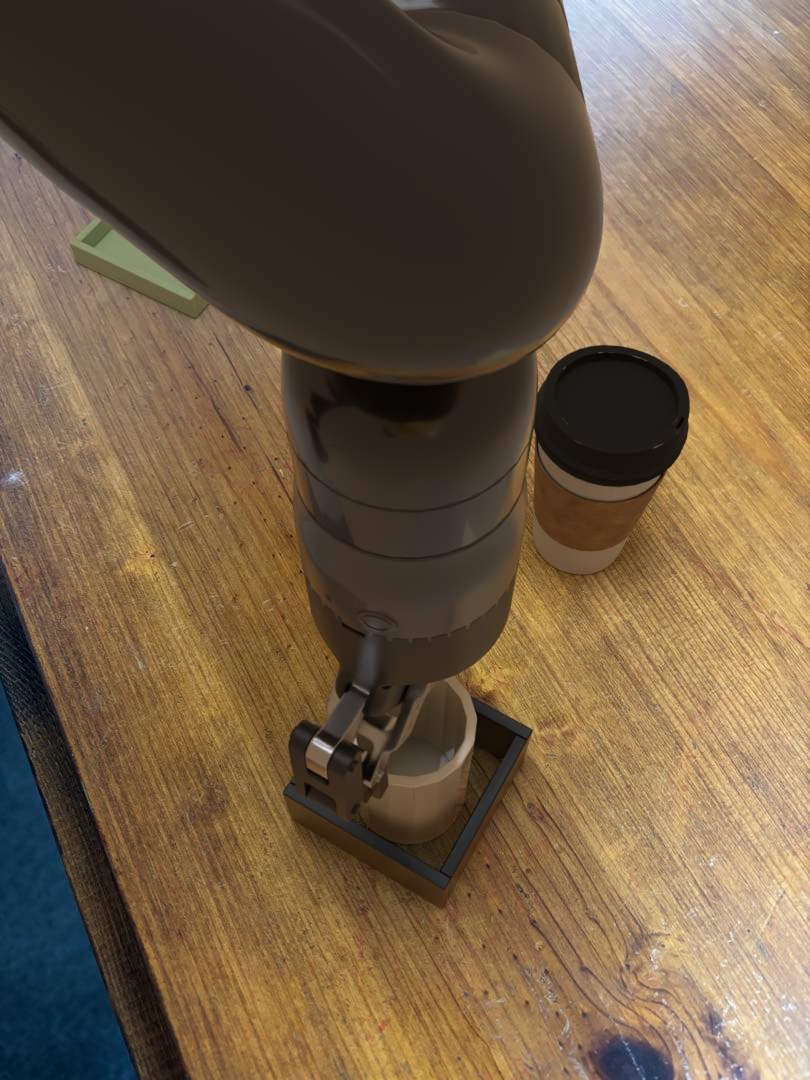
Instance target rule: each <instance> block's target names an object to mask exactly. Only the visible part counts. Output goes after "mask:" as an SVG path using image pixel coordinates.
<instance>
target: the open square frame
mask: <svg viewBox="0 0 810 1080" xmlns="http://www.w3.org/2000/svg"><path fill="white" fill-rule="evenodd" d="M470 697H471V700H472V703H473V706H474V710H475V713H476V716H477V724H476V733H475V742H474V745H476V746H478V747H479V748H481V749H483V750H485V751H487V752H488V753H491V754H493V755H494V756H496V757H497V758H500V759H501V760H500V762H499V764H498V765H497V767H496V769H495V771H494V772H493V774H492V776H491V778H490V780H489V781H488V783H487V785H486V787H485V789H484V791H483V793H482V794H481V796H480V797H479V799H478V801H477V803H476V805H475V807H474V808H473V811H472V812H471V814H470V816H469V817H468V819H467V820H466V823H465V825H464V827H463V828H462V829H461V832H460V834H459V835H458V837H457V839H456V840H455V842H454V844H453V846H452V848H451V850H450V851H449V854H448V855H447V857H446V859H445V861H444V862H443V864H442V866H441V868H440V869H439V870H438V869H436V868H435V867H433V866H431V865H430V864H428V863H426V862H424V861H423V860H422V859H420V858H418V857H416V856H415V855H413V854H411V853H409V852H408V851H407V850H404V849H403V848H401V847H400V846H398V845H396V844H394V842H392V841H389V840H387V839H385V838H383V837H381V836H379V835H378V834H376V833H375V832H374V831H373V830H372V829H370V828H369V827H368V828H367V827H366V826H364V825H363V824H361V823H359V822H357V821H356V820H354V819H353V818H352V819H351V820H350V821H349V822H346V821H344V820H343V819H341V818H339V817H338V816H337V814H335V813H333V812H331V811H330V810H328V809H326V808H325V807H323V806H321V805H320V804H318V803H316V802H315V801H313V800H311V799H310V798H306V797H304V796H302V795H300V794H299V793H297V792H296V788H295V782H294V777H293V776H292V777H291V779H290V780H289V782H288V783H287V785H286V787H285V788H284V790H283V791H282V795H283V799H284V801H285V804H286V807H287V810H288V813H289V816H290V819H291V820H293V821H295V822H296V823H298V824H300V825H301V826H303V827H304V828H306V829H308V830H309V831H311V832H313V833H314V834H316V835H318V836H319V837H321V838H322V839H324V840H326V841H328V842H329V843H331V844H333V846H336V847H338V848H339V849H341V850H342V851H344V852H346V853H347V854H349V855H351V856H352V857H354V858H356V859H357V860H359V861H361V862H362V863H364V864H365V865H367V866H368V867H370V868H372V869H374V870H375V871H377V872H379V873H380V874H382V875H384V876H385V877H387V878H388V879H391V880H392V881H393V882H395V883H397V884H399V885H400V886H402V887H404V888H405V889H407V890H409V891H410V892H412V893H414V894H415V895H417V896H419V898H422V899H424V900H425V901H426V902H428V903H430V904H431V905H434V906H435V907H437V908H438V909H440V910H442V909H443V908H444V907H445V905H446V903H447V901H448V899H449V898H450V895H451V894H452V892H453V890H454V889H455V886H456V884H457V883H458V881H459V879H460V878H461V876H462V874H463V872H464V870H465V868H466V866H467V864H468V862H469V861H470V859H471V857H472V855H473V853H474V852H475V850H476V848H477V846H478V844H479V843H480V841H481V839H482V837H483V835H484V833H485V832H486V830H487V828H488V827H489V825H490V823H491V821H492V819H493V817H494V815H495V813H496V811H497V810H498V808H499V806H500V804H501V803H502V801H503V799H504V797H505V795H506V793H507V792H508V789H509V788H510V787H511V784H512V782H513V781H514V779H515V777H516V775H517V773H518V771H519V769H520V768H521V766H522V764H523V762H524V761H525V758H526V755H527V752H528V748H529V746H530V745H529V744H530V741H531V738H532V734H533V731H534V729H533V728H531V727H529V726H528V725H526V724H524V723H522V722H520V721H518V720H516V719H514V718H513V717H511V716H509V715H507V714H505V713H504V712H502V711H499V710H498V709H496V708H494V707H492V706H490V705H489V704H487V703H485V702H483V701H481V700H479V699H478V698H476V697H474V696H472V695H470Z"/></svg>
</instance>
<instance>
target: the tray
mask: <svg viewBox="0 0 810 1080" xmlns="http://www.w3.org/2000/svg"><path fill="white" fill-rule="evenodd" d="M69 245H70V248H71V251H72V254H73V257H74V259H75V262H76V263H77V264H78V265H81V266H84V267H86V268H88V269H90V270H92V271H94V272H97V273H98V274H100V275H102V276H105V277H106V278H109V279H110V280H113V281H116V282H117V283H118V284H122V285H123V286H126V287H128V288H130V289H132V290H134V291H136V292H138V293H139V294H140V293H141V294H142V295H144V296H146V297H149V298H151V299H152V300H155V301H157V302H158V303H161V304H164V305H166V306H168V307H169V308H171V309H174V310H176V311H178V312H180V313H182V314H184V315H186V316H189V317H191V318H193V319H196V318H197V317H198V316H199V315H200V314H201V313H202V312H203V310H205V308H206V307H207V306H208V305H210V304H209V303H207V302H206V301H205V300H203V299H202V298H201V297H199V296H198V295H197V294H195V293H194V292H193V291H192V290H190V289H189V288H188V287H186V286H185V285H184V284H182V283H181V282H180V281H179V280H177V279H176V278H175V277H173V276H172V275H171V274H170V273H168V272H167V271H166V270H164V269H163V268H162V267H161V266H159V265H158V264H157V263H155V262H154V261H153V260H152V259H150V258H149V257H148V256H146V255H145V254H144V253H143V252H141V251H140V250H139V249H137V248H136V247H135V246H134V245H132V244H131V243H130V242H128V241H127V240H126V239H125V238H123V237H122V236H121V235H120V234H118V233H117V232H116V231H114V230H113V229H112V228H111V227H109V226H108V225H107V224H105V223H104V222H103V221H101V220H100V219H99V218H97V217H96V216H95V218H93V220H91V221H90V222H89V223H88V224H87V226H85V227H84V228H83V229H82V230H81V231H80V232H79V233H78V235H76V236H75V237H74V238H73V239H72V240H71V241H70V242H69Z"/></svg>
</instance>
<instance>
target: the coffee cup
mask: <svg viewBox="0 0 810 1080" xmlns="http://www.w3.org/2000/svg"><path fill="white" fill-rule="evenodd" d="M690 413H691V398H690V393H689V388H688V386H687V384H686V382H685V380H684V379H683V378H682V376H681V375H680V374H679V373H678V372H677V371H676V370H675V369H674V368H673V367H672V366H671V365H669V364H668V363H666V362H665V361H663V360H662V359H660V358H658V357H656V356H654V355H651V354H650V353H648V352H646V351H642V350H639V349H636V348H633V347H627V346H622V345H613V344H599V345H597V344H596V345H589V346H585V347H582V348H578V349H576V350H573V351H571V352H569V353H567V354H565V356H563V357H561V358H560V359H558V361H556V363H555V364H554V365H553V366H552V367H551V368H550V370H549V371H548V374H547V376H546V378H545V380H544V381H543V382H542V383H541V386H540V387H539V388H538V398H537V407H536V415H535V424H534V430H533V432H534V434H535V436H534V459H533V460H534V462H533V463H534V465H533V467H534V468H533V470H534V471H533V511H532V527H531V528H532V534H531V535H532V540H533V544H534V546H535V549H536V551H537V552H538V555H540V556H541V558H542V559H543V560H544V561H545V562H546V563H547V564H548V565H550V566H552V567H553V568H555V569H556V570H559V571H561V572H564V573H567V574H572V575H582V576H583V575H592V574H595V573H597V572H601V571H602V570H605V569H606V568H608V567H610V565H612V564H613V563H614V562H615V561H616V560H617V558H618V557H619V556H620V554H621V552H622V550H623V548H624V546H625V544H626V543H627V541H628V539H629V537H630V535H631V533H632V532H633V531H634V529H635V527H636V525H637V524H638V522H639V521H640V519H641V517H642V515H643V514H644V512H645V511H646V509H647V507H648V505H649V503H650V502H651V500H652V498H653V497H654V495H655V493H656V491H657V490H658V488H659V487H660V485H661V483H662V481H663V480H664V478H665V476H666V474H667V472H668V470H669V469H670V468H671V467H673V465H674V464H675V463H676V461H677V460H678V459H679V457H680V455H681V452H682V451H683V449H684V446H685V444H686V442H687V439H688V434H689V427H690V425H689V418H690Z"/></svg>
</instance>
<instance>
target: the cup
mask: <svg viewBox="0 0 810 1080" xmlns="http://www.w3.org/2000/svg"><path fill="white" fill-rule="evenodd" d="M470 696H471V694H470V692H469V691H468V690H467V688H465V687H464V685H463V684H462V683H461V682H460V680H459V679H458V678H457V677H456V675H454V676H452V677H450V678H447V679H444V680H441V681H438V683H437V684H436V685H435V687H434V688H433V689H432V690H431V691H430V692H429V693H428V694H427V695H426V697H425V699H424V702H423V704H422V707H421V709H420V712H419V714H418V717H417V719H416V722H415V725H414V727H413V730H412V732H411V734H410V736H409V737H408V738H407V739H406V740H405V741H404V742H403V744H402V745H401V746H400V747H399V748H398V749H397V750H396V751H394V752H391V753H390V756H389V758H388V761H387V769H388V784H389V786H388V787H387V789H386V791H385V792H384V794H383V796H382V797H381V799H377V798H375V797H373V796H371V797H370V799H369V801H368V802H367V803H363V802H361V803H360V805H361V808H360V810H359V812H358V814H359V816H360V817H361V819H362V820H363V822H364V823H365V824H366V826H367V827H368V829H369V830H371V831H373V832H374V833H376V834H378V835H379V836H381V837H383V838H384V839H386V840H388V841H389V842H391V843H397V844H401V845H417V844H424V843H426V842H429V841H432V840H434V839H436V838H438V837H440V836H441V835H443V834H444V833H445V832H447V830H449V829H450V828H451V826H452V825H454V823H455V822H456V820H457V819H458V817H459V815H460V813H461V811H462V809H463V806H464V804H465V800H466V796H467V788H468V784H469V777H470V771H471V765H472V761H473V760H472V759H473V754H474V747H475V744H474V742H475V733H476V724H477V716H476V713H475V710H474V706H473V703H472V700H471V697H470ZM401 706H402V703H401V704H399V705H398V706H396V707H395V708H393V709H391V710H390V711H388V712H386V713H388V714H390V715H392V716H394V717H397V716H398V714H399V711H400V708H401ZM354 744H356V745H358V746H359V747H361V748H363V749H365V750H366V751H368V752H370V753H372V751H373V744H372V742H371V741H370V740H368V739H367V738H365V737H363V736H361V735H360V734H358V733H356V737H355V741H354Z"/></svg>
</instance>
